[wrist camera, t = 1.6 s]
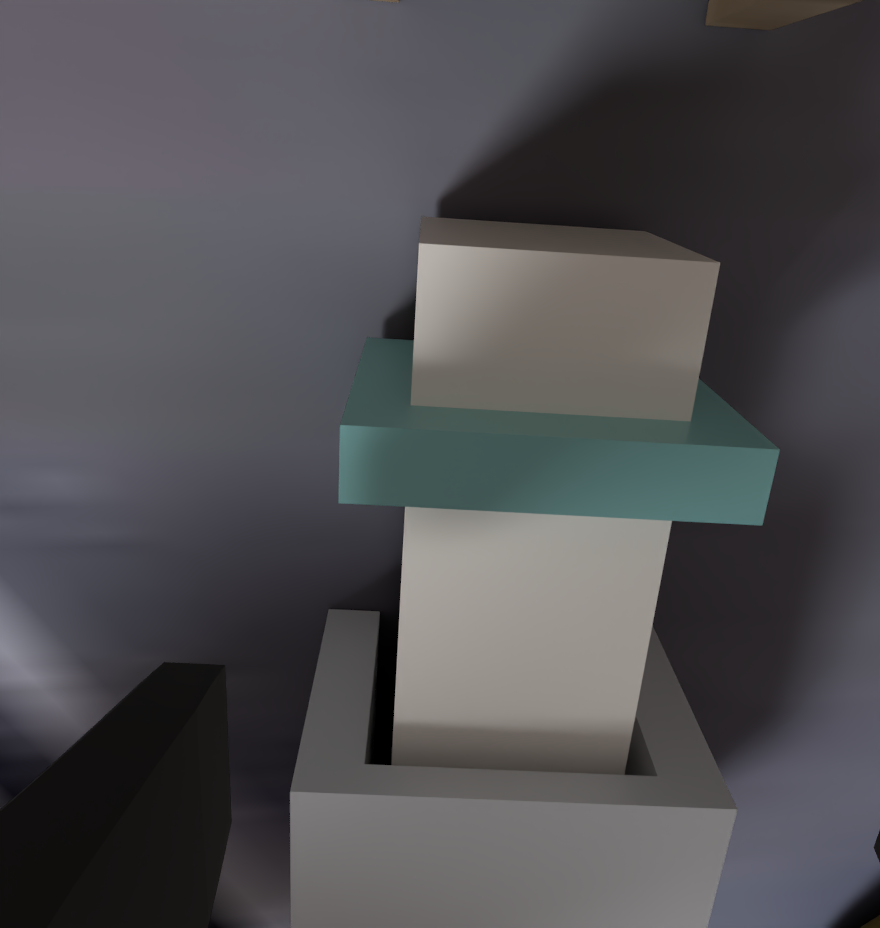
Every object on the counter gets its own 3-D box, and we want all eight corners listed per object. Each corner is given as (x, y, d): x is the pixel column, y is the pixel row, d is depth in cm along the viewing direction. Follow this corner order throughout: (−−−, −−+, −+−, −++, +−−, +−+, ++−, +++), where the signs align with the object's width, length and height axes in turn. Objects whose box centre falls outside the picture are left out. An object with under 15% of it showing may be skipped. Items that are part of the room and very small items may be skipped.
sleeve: (325, 834, 18) (291, 1061, 14) (329, 608, 16) (290, 791, 11) (610, 844, 18) (669, 1072, 14) (651, 624, 16) (737, 809, 12)
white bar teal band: (352, 799, 17) (328, 1010, 13) (371, 213, 13) (343, 248, 9) (594, 809, 18) (646, 1019, 13) (695, 234, 13) (820, 279, 9)
